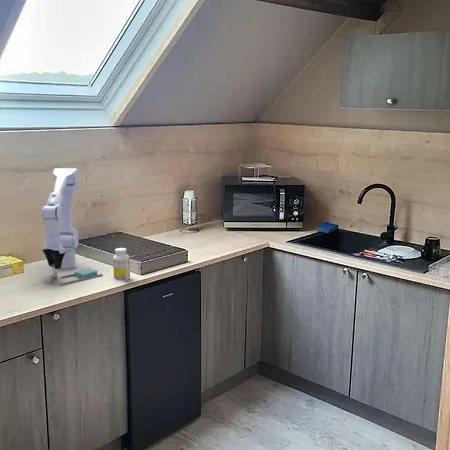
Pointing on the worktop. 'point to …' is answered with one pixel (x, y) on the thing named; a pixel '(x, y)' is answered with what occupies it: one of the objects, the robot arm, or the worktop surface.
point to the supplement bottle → (121, 264)
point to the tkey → (53, 273)
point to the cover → (85, 273)
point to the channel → (78, 279)
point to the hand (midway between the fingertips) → (54, 267)
